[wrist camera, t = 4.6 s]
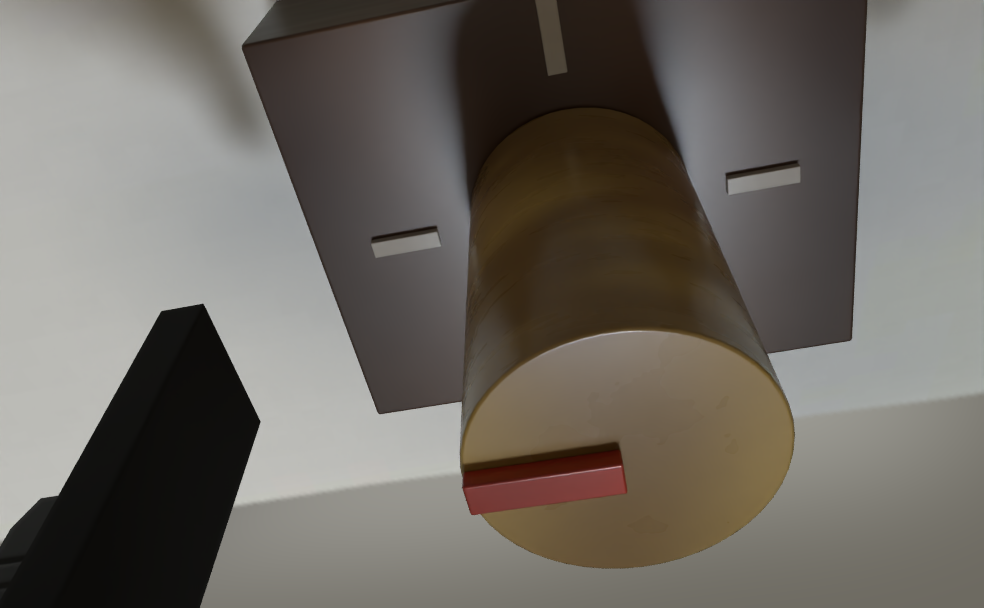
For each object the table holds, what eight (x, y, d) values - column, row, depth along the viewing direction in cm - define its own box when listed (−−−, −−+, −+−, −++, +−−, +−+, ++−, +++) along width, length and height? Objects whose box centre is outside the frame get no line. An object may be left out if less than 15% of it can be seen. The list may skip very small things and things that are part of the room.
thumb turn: (682, 85, 15) (804, 315, 9) (697, 282, 18) (802, 565, 12) (448, 131, 16) (421, 376, 10) (494, 316, 18) (496, 604, 12)
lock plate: (815, -117, 16) (877, -86, 14) (811, 270, 21) (855, 345, 19) (274, 0, 18) (237, 49, 15) (390, 340, 23) (376, 420, 20)
